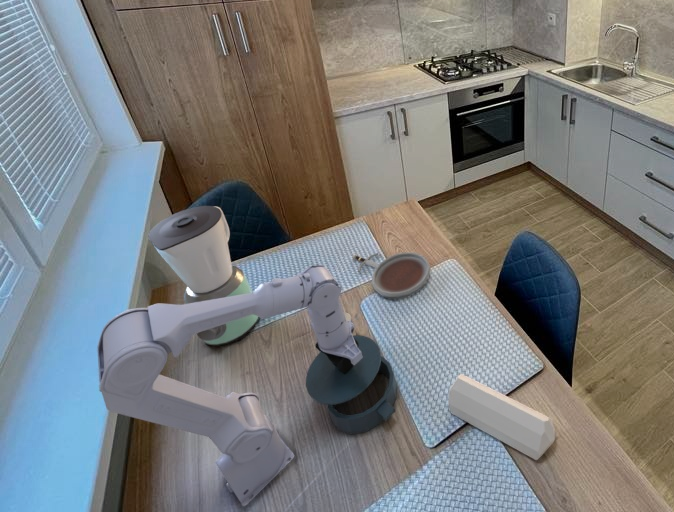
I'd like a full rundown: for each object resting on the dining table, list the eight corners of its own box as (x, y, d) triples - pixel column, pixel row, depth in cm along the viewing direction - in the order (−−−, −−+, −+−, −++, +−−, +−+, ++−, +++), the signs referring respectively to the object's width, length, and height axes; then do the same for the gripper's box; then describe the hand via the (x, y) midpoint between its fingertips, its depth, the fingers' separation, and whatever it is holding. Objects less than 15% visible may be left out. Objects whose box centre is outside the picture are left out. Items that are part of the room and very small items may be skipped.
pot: (366, 459, 78) (360, 443, 76) (312, 401, 88) (305, 385, 86) (418, 399, 88) (415, 383, 86) (364, 353, 98) (360, 338, 96)
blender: (246, 353, 99) (195, 242, 84) (187, 360, 98) (124, 249, 83) (276, 292, 116) (238, 191, 101) (226, 298, 115) (180, 196, 100)
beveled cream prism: (564, 409, 82) (464, 361, 92) (554, 429, 76) (447, 375, 85) (557, 445, 82) (458, 393, 92) (546, 469, 75) (440, 410, 85)
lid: (334, 422, 76) (329, 408, 74) (292, 379, 84) (286, 365, 82) (395, 360, 87) (392, 346, 85) (353, 327, 95) (349, 313, 93)
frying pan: (372, 236, 134) (441, 260, 122) (373, 243, 135) (442, 267, 123) (330, 271, 120) (404, 302, 108) (333, 278, 121) (406, 309, 110)
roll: (345, 352, 99) (338, 331, 96) (334, 342, 101) (327, 322, 98) (360, 338, 102) (354, 317, 99) (349, 329, 105) (344, 309, 101)
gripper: (370, 324, 78) (381, 369, 84) (326, 291, 86) (340, 334, 91) (337, 352, 73) (352, 398, 79) (294, 314, 80) (310, 359, 86)
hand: (343, 366), depth 85 cm, fingers closed on lid, 2 cm apart
